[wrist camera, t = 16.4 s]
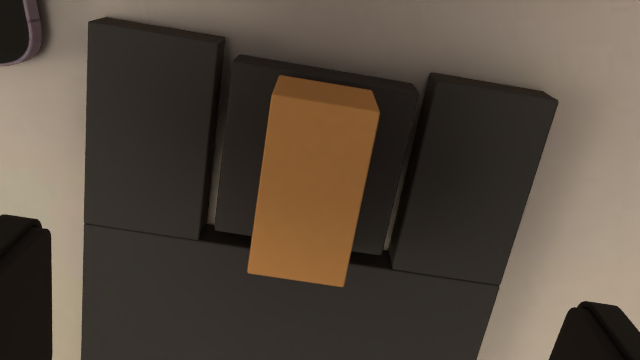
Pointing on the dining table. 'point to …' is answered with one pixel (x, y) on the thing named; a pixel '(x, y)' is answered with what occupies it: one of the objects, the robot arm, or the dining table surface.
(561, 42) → the dining table surface
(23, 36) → the smartphone
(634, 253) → the dining table surface
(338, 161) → the pad piece
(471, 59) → the dining table surface
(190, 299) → the mat
